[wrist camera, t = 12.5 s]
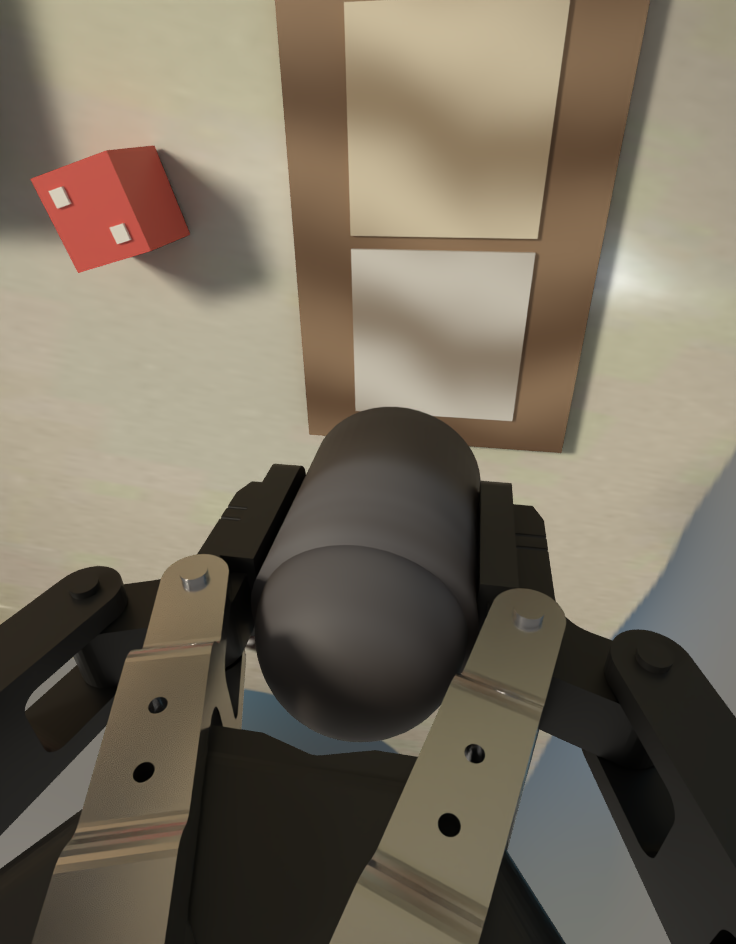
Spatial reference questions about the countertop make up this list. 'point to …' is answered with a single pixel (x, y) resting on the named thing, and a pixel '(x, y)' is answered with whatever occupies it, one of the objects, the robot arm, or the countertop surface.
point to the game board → (452, 201)
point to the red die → (111, 206)
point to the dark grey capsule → (373, 578)
